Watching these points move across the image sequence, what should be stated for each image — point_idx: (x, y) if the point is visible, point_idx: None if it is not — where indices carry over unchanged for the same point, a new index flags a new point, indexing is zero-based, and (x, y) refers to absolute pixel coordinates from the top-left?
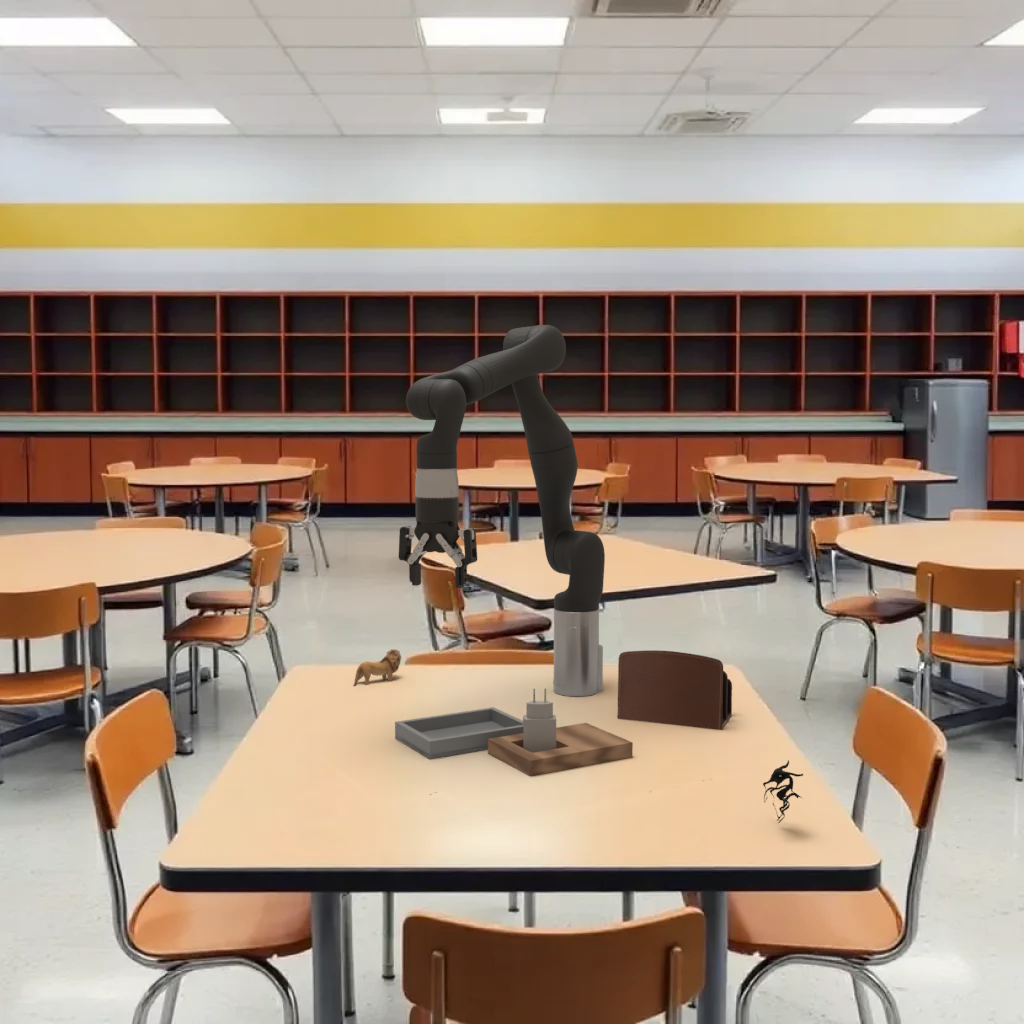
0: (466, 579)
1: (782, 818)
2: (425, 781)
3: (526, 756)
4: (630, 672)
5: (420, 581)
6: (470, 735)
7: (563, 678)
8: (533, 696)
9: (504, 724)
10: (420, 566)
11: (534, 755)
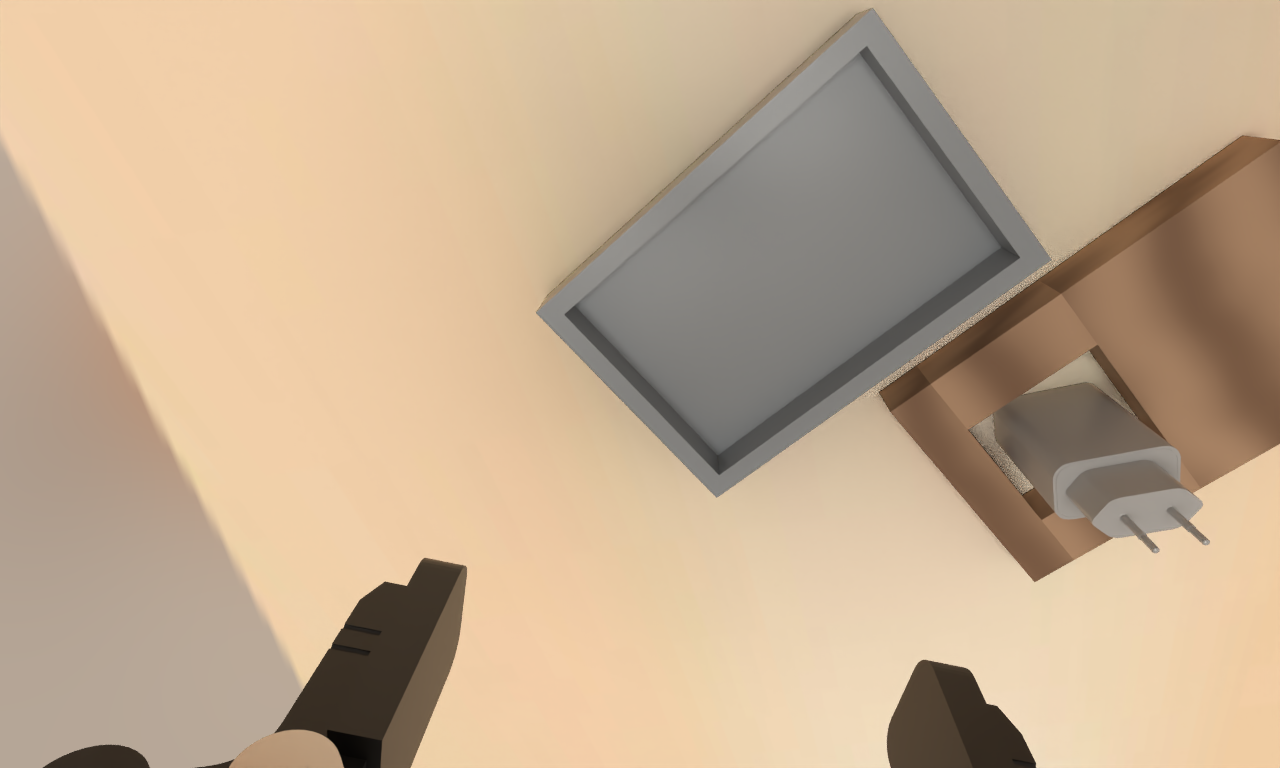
0: (1025, 762)
1: None
2: (747, 620)
3: (1022, 550)
4: None
5: (457, 583)
6: (832, 414)
7: None
8: (1134, 533)
9: (921, 134)
10: (395, 717)
11: (1047, 540)
